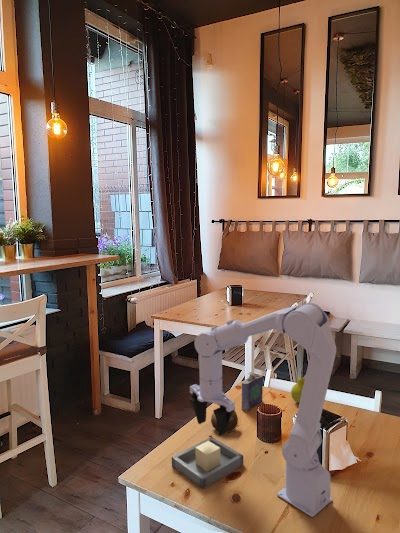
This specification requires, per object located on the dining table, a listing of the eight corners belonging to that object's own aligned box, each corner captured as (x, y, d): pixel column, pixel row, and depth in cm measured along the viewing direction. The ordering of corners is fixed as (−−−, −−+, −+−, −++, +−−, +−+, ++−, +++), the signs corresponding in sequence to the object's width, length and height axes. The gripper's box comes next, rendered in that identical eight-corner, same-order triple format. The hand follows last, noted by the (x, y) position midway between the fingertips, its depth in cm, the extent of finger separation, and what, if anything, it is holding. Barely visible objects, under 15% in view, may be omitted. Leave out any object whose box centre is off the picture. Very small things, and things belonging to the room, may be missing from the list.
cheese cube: (220, 464, 103) (220, 447, 102) (207, 471, 100) (207, 454, 100) (208, 456, 106) (208, 440, 106) (195, 463, 103) (195, 447, 103)
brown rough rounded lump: (223, 407, 128) (223, 398, 123) (243, 423, 123) (243, 414, 119) (206, 426, 124) (205, 417, 120) (226, 443, 120) (225, 434, 115)
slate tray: (243, 464, 104) (243, 455, 103) (202, 489, 94) (202, 479, 94) (211, 445, 113) (211, 436, 112) (171, 466, 103) (171, 456, 103)
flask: (246, 412, 131) (246, 378, 130) (238, 409, 133) (238, 376, 132) (264, 402, 138) (264, 370, 136) (257, 399, 140) (257, 367, 139)
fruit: (293, 396, 142) (294, 364, 140) (313, 400, 139) (314, 366, 137) (289, 405, 136) (289, 371, 134) (309, 409, 133) (310, 374, 131)
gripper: (180, 373, 104) (181, 422, 106) (219, 390, 93) (220, 445, 95) (200, 366, 109) (201, 413, 110) (240, 382, 98) (240, 434, 99)
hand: (211, 427), depth 103 cm, fingers open, 7 cm apart
